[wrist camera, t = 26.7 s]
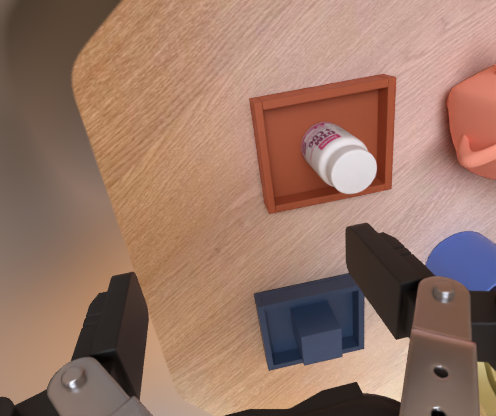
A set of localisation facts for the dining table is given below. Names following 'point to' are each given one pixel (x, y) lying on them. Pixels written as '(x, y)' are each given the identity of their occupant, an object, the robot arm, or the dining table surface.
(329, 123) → the pill bottle
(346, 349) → the blue tray
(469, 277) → the water bottle
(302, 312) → the blue block
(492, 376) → the slatted curved stool
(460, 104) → the teapot
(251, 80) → the dining table surface
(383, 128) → the terracotta tray
